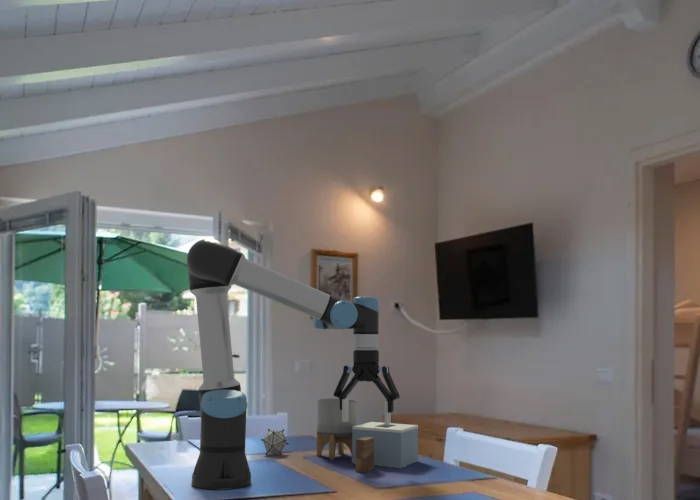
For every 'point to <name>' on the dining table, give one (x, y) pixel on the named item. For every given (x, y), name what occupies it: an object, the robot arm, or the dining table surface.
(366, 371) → the robot arm
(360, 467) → the block
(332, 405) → the planter
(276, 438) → the game die
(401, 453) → the coin box
